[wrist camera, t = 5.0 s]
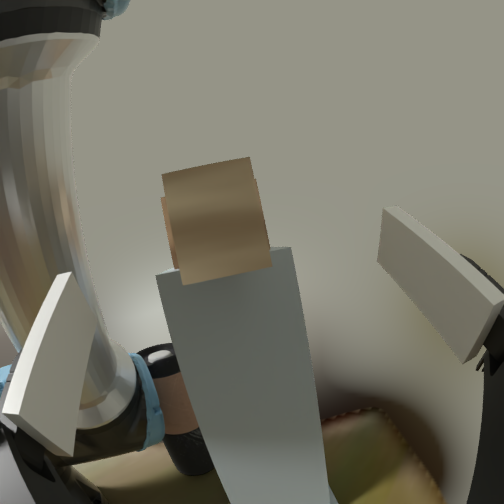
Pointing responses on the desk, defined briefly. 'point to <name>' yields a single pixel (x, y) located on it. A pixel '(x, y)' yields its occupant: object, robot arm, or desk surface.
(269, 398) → the pedestal
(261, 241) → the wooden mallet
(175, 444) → the travel mug
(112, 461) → the desk surface
